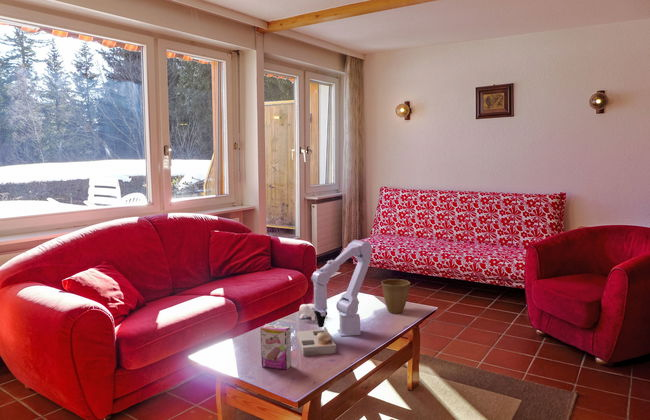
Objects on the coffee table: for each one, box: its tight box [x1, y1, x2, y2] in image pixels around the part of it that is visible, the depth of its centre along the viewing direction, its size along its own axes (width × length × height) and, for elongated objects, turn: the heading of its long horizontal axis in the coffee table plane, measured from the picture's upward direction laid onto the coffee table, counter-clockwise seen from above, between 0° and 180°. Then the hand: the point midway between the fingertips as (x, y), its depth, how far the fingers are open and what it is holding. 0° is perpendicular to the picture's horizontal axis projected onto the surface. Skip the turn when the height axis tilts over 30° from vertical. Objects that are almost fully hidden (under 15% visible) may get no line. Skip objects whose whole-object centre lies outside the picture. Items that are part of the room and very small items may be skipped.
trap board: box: [295, 326, 337, 357], centre depth 226 cm, size 14×24×4 cm, turn 10°
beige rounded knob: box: [317, 332, 331, 344], centre depth 223 cm, size 5×5×4 cm
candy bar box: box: [260, 323, 292, 371], centre depth 203 cm, size 11×5×16 cm, turn 71°
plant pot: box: [381, 278, 411, 315], centre depth 269 cm, size 15×15×16 cm
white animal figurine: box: [298, 303, 316, 322], centre depth 261 cm, size 9×8×15 cm
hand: (320, 326), depth 231 cm, fingers closed
